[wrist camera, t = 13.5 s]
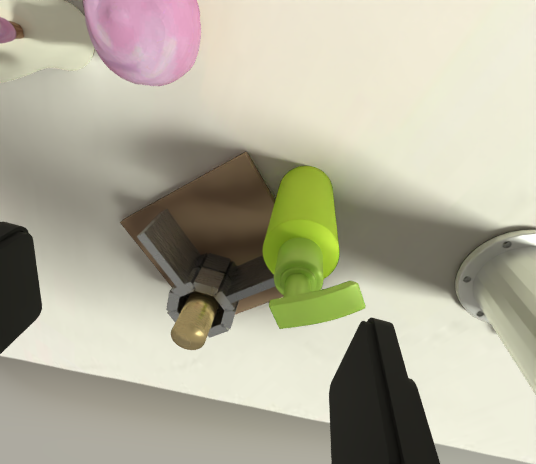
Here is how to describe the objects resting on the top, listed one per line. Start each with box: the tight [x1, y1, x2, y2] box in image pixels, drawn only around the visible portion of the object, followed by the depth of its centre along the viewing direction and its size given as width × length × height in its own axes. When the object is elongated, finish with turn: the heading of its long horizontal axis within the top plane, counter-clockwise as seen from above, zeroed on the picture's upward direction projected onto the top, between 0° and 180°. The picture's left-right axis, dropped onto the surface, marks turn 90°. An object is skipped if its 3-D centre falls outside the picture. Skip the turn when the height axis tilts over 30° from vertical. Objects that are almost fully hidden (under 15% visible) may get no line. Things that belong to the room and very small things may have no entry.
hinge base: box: [120, 151, 284, 314], centre depth 42 cm, size 18×18×1 cm
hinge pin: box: [171, 291, 219, 350], centre depth 39 cm, size 4×4×10 cm
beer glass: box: [0, 0, 94, 83], centre depth 27 cm, size 7×7×15 cm
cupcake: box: [83, 0, 201, 86], centre depth 27 cm, size 9×9×10 cm
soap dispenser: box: [263, 166, 365, 329], centre depth 29 cm, size 6×7×20 cm
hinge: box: [137, 209, 275, 338], centre depth 39 cm, size 15×15×6 cm
